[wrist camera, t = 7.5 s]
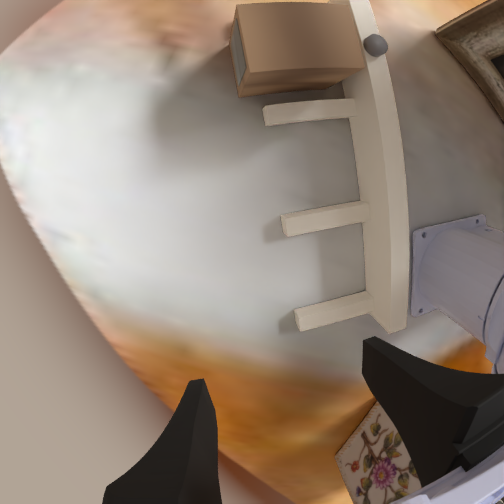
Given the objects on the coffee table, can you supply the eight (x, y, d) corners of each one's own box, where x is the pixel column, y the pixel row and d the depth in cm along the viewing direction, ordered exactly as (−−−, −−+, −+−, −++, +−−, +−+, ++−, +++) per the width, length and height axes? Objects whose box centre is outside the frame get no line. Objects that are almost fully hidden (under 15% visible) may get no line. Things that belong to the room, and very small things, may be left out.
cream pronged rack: (341, 9, 17) (367, -17, 12) (381, 305, 24) (410, 332, 20) (242, 10, 16) (250, -23, 12) (296, 329, 23) (314, 363, 19)
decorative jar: (397, 452, 32) (451, 544, 15) (330, 457, 30) (380, 577, 13) (447, 388, 30) (527, 480, 12) (383, 385, 27) (475, 518, 10)
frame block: (314, 39, 17) (348, 4, 12) (325, 89, 19) (364, 68, 13) (228, 44, 17) (235, 4, 11) (237, 98, 18) (249, 72, 12)
